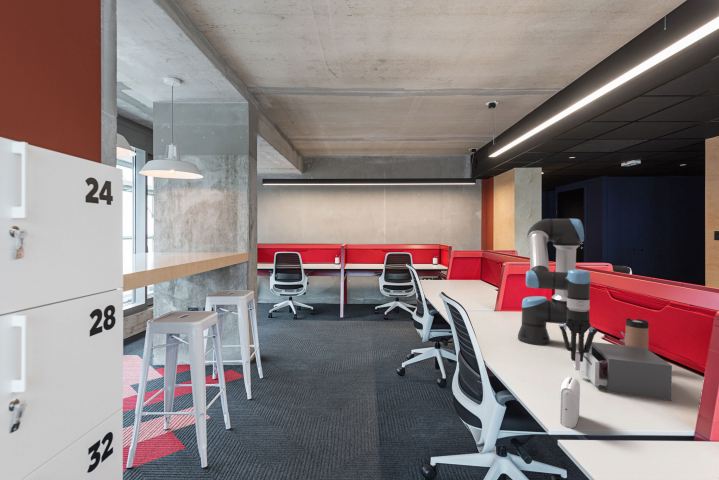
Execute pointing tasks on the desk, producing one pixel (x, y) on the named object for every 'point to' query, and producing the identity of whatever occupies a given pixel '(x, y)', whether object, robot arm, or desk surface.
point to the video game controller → (603, 368)
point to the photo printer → (569, 402)
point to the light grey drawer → (592, 369)
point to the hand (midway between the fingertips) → (576, 369)
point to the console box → (634, 371)
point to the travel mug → (637, 333)
